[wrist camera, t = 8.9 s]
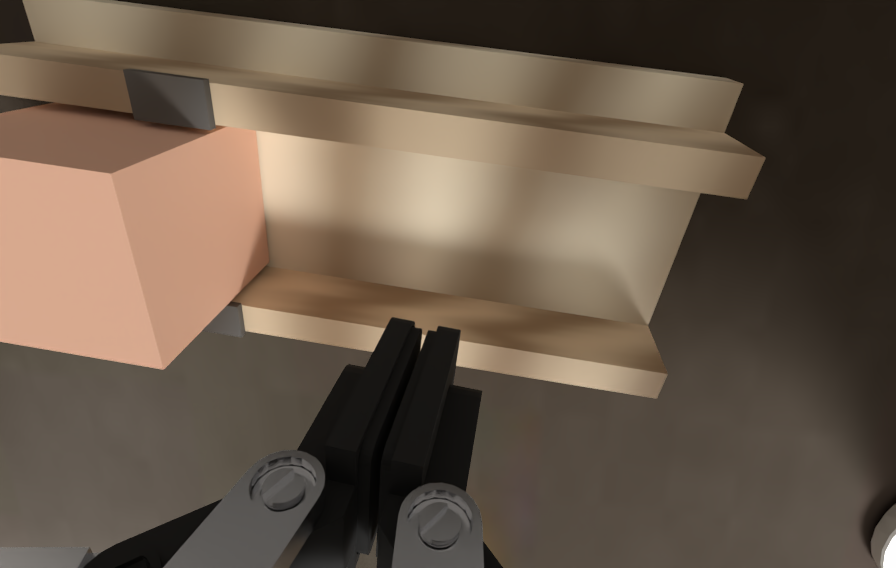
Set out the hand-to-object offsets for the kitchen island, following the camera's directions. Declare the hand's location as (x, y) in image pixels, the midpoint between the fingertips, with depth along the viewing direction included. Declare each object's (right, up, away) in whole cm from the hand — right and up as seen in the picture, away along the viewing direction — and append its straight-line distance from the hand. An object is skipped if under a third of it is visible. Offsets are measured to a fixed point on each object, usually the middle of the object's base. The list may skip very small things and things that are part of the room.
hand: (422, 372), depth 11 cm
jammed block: (-10, +6, +7) cm, 14 cm away
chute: (-2, +6, +8) cm, 10 cm away
